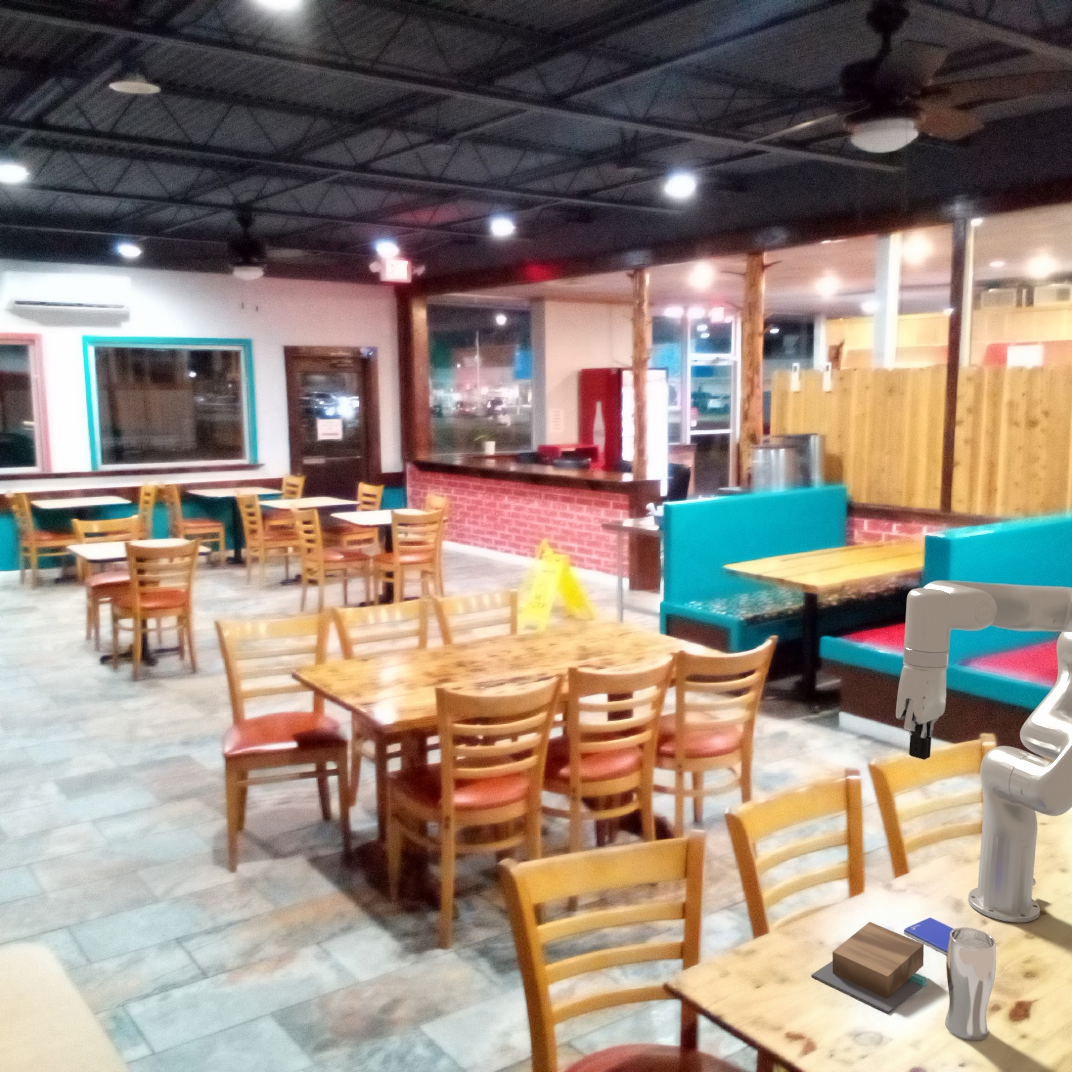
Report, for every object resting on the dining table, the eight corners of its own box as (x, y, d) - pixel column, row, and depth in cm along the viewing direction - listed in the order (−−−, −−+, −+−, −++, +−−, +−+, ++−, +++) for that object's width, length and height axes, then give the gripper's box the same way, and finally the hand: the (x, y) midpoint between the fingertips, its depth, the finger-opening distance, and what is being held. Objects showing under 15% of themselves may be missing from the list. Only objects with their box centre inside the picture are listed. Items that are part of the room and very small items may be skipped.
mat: (846, 953, 178) (846, 951, 178) (921, 988, 167) (922, 985, 167) (811, 976, 170) (811, 974, 170) (888, 1013, 160) (888, 1011, 160)
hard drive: (903, 928, 185) (965, 959, 175) (930, 916, 189) (992, 945, 179) (903, 936, 185) (964, 967, 175) (930, 924, 190) (991, 954, 179)
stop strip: (850, 950, 179) (851, 944, 179) (926, 984, 168) (926, 978, 168) (847, 953, 178) (847, 946, 178) (922, 987, 168) (923, 980, 168)
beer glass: (967, 1047, 152) (973, 953, 150) (932, 1021, 158) (938, 931, 156) (1000, 1036, 155) (1008, 944, 153) (965, 1011, 161) (971, 923, 159)
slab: (869, 921, 178) (832, 951, 170) (923, 944, 171) (887, 976, 163) (869, 942, 179) (832, 972, 171) (923, 965, 171) (887, 998, 164)
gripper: (925, 647, 188) (919, 743, 190) (885, 660, 178) (879, 760, 180) (965, 655, 182) (958, 753, 185) (925, 668, 172) (919, 772, 175)
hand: (919, 756), depth 182 cm, fingers closed
